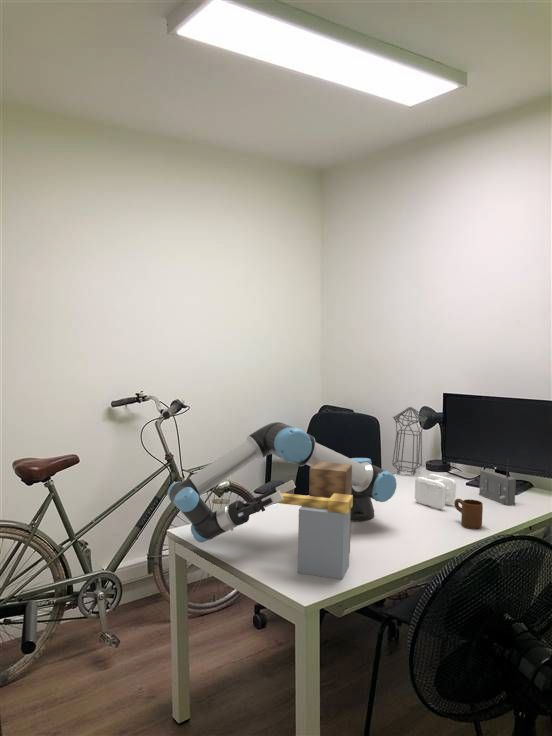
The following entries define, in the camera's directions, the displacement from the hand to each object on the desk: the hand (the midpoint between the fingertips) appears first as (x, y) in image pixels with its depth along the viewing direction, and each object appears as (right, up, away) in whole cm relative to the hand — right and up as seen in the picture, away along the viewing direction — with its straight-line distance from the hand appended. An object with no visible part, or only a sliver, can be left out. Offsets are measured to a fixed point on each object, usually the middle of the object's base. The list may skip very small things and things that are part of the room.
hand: (287, 489), depth 184 cm
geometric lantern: (+65, -17, +119) cm, 137 cm away
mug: (+70, -23, +42) cm, 85 cm away
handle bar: (+8, -5, -2) cm, 9 cm away
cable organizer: (+65, -21, +66) cm, 95 cm away
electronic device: (+93, -21, +74) cm, 121 cm away
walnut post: (+14, -24, +10) cm, 29 cm away
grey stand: (+11, -25, -2) cm, 27 cm away
